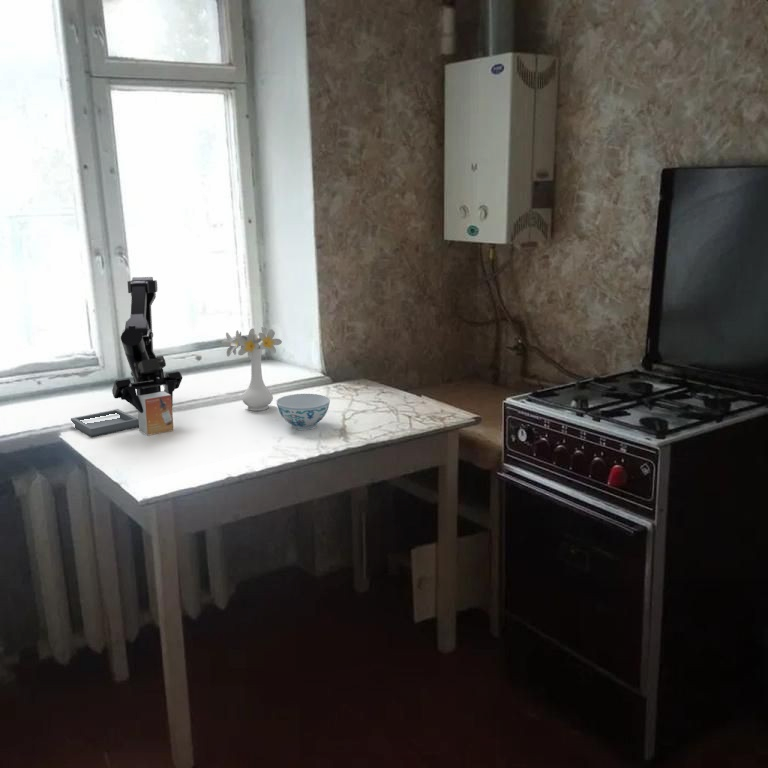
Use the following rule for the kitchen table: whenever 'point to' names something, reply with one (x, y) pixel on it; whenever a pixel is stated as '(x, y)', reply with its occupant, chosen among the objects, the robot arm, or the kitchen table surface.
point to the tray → (106, 423)
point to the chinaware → (303, 409)
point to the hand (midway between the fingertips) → (157, 409)
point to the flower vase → (254, 364)
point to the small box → (155, 413)
